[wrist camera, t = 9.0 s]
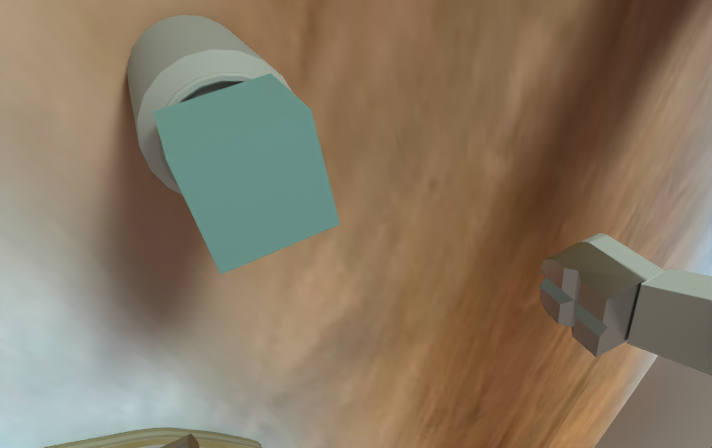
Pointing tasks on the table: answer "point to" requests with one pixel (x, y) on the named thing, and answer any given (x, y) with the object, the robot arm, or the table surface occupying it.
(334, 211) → the teal block
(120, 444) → the knob puzzle
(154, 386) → the table surface
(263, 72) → the can
